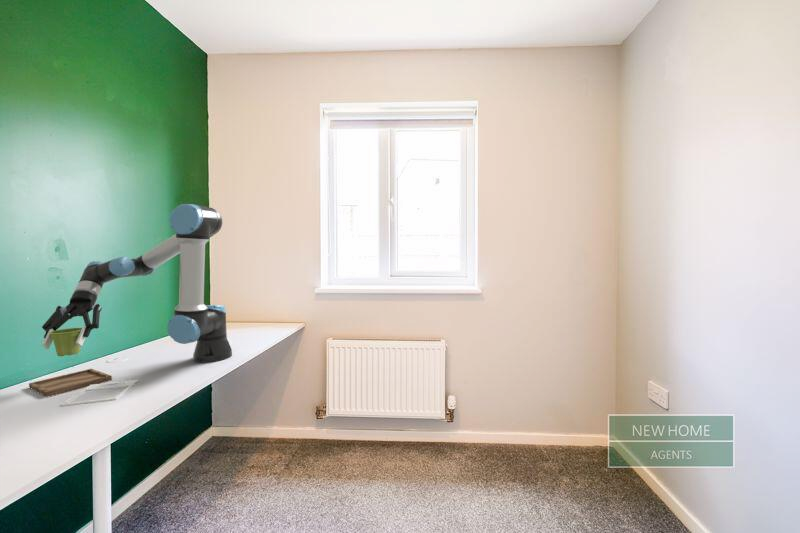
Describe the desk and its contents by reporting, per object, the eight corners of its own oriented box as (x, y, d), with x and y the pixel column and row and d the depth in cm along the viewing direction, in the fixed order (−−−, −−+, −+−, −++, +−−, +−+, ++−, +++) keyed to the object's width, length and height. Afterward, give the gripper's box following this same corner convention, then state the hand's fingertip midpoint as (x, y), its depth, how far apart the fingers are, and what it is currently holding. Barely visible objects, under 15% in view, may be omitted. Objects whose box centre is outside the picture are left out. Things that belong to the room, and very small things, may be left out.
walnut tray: (111, 380, 139) (111, 375, 139) (47, 397, 124) (46, 392, 124) (91, 372, 148) (91, 368, 148) (29, 387, 133) (28, 383, 133)
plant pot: (44, 357, 132) (42, 332, 132) (74, 350, 141) (72, 327, 141) (62, 358, 130) (60, 333, 129) (92, 351, 139) (90, 328, 138)
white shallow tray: (138, 379, 137) (116, 397, 120) (138, 382, 137) (116, 400, 120) (90, 384, 133) (60, 404, 116) (91, 387, 133) (60, 407, 116)
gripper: (121, 299, 152) (102, 348, 137) (57, 302, 147) (30, 353, 133) (113, 287, 147) (93, 337, 132) (46, 290, 142) (18, 342, 127)
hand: (62, 345), depth 132 cm, fingers closed on plant pot, 9 cm apart
